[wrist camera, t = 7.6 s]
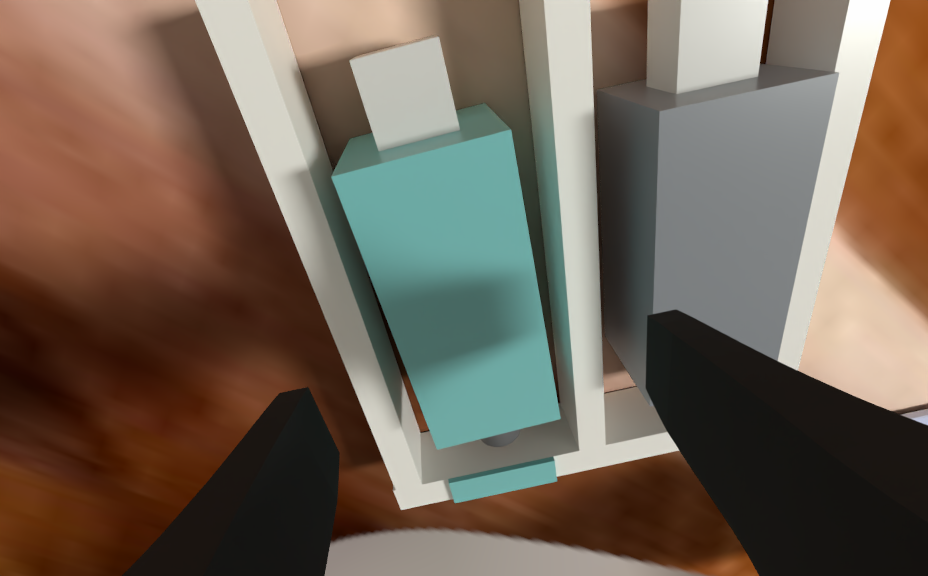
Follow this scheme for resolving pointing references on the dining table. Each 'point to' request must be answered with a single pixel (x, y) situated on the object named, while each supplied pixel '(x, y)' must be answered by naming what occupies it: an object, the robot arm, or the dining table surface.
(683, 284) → the grey plug
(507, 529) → the dining table surface
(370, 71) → the teal plug
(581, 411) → the cable comb
